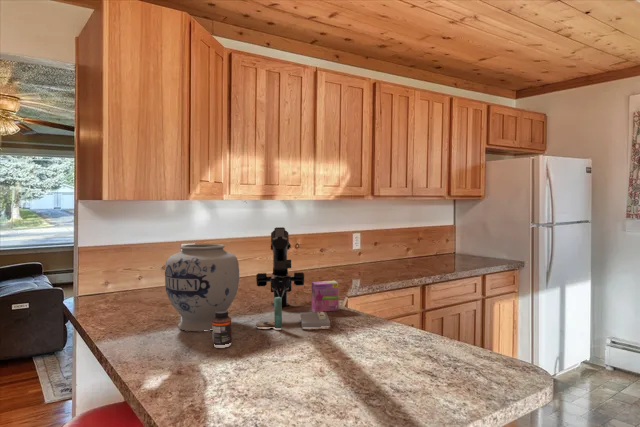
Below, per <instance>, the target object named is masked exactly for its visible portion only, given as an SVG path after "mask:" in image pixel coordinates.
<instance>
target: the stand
mask: <svg viewBox="0 0 640 427" xmlns="http://www.w3.org/2000/svg"><path fill="white" fill-rule="evenodd" d="M299 314H300V315H299V316H300V318H301V320H300V324H301V323H302V325H301V328H302V327H321V326H330V327H331V321H330V318H329V316H328V313H327V311H325V312H314V311H313V312H300V313H299Z"/></svg>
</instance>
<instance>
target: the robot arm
mask: <svg viewBox="0 0 640 427" xmlns="http://www.w3.org/2000/svg"><path fill="white" fill-rule="evenodd" d="M289 234H290V233H289V232H288V231H287V230H286V228H285V227H283V226H282V227H275V228H274V229H273V230H272V231H271V233H270V251H272V259H273V260H272V265H273V266H272V275H270V276H267V272H258V273H257V274H256V276H255V279H256V280H255V281H256V286H257V287H265V286H267V284H268V283H270V293H273V299H274V298H275V297H281V298H282V307H288V306H291V304H290V303H288V293H290V292H292V282H293V284H294V285H295V286H304V285H305V273H304V272H302V271H300V272H299V271H298V272H297V271H296V272H295V271H294V272H293V275H289V269H292V259H288V251H289V250H290V249H291V246H292V245H291V243H290V240H289V239H290V238H289V237H290V236H289ZM271 305H272V307H273V306H274V302H271Z"/></svg>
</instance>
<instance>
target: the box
mask: <svg viewBox="0 0 640 427" xmlns="http://www.w3.org/2000/svg"><path fill="white" fill-rule="evenodd" d="M339 297H340V296H339V282H338V281H336V280H324V281H323V280H322V281H311V310H312V311H313V312H314V311H315V312H323V311H325V312H333V311H339V309H340V308H339V307H340V306H339V300H340V299H339Z"/></svg>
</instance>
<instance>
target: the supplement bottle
mask: <svg viewBox="0 0 640 427" xmlns="http://www.w3.org/2000/svg"><path fill="white" fill-rule="evenodd" d="M212 328H213V331H212V345H213V344H215V345H225V344H229V343H231V342H232V343H233V335H232V334H233V333H232V330H233V328H232V318H231V317H230V316H229V310H228V309H227V310H217V311H216V312H215V318H214V319H213V321H212Z"/></svg>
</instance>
